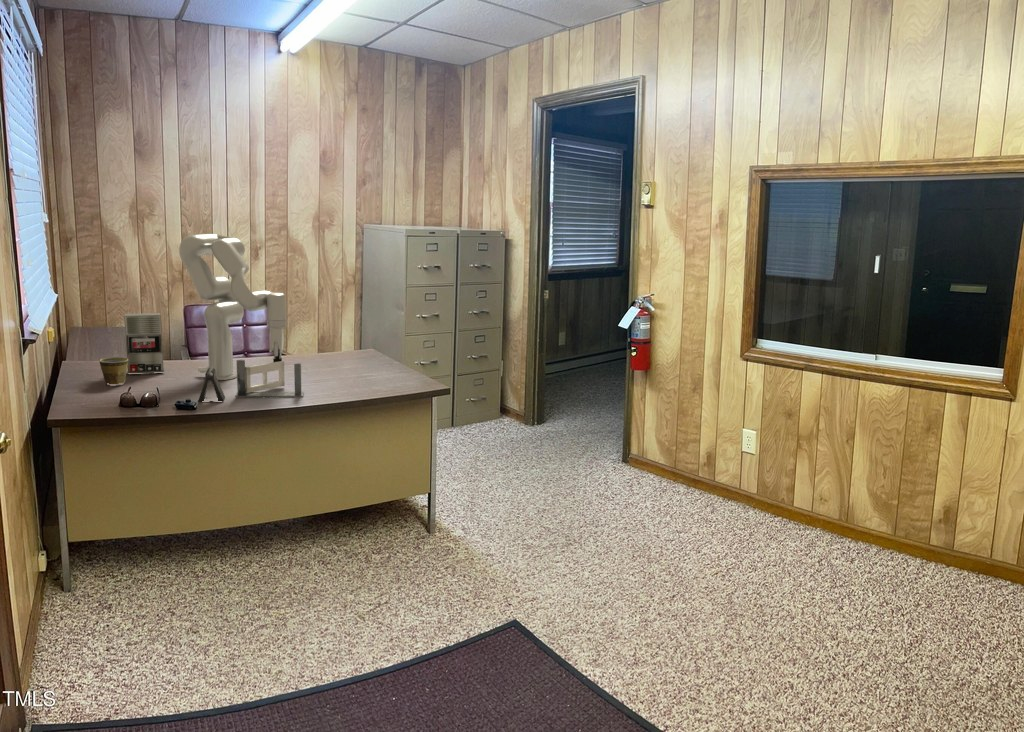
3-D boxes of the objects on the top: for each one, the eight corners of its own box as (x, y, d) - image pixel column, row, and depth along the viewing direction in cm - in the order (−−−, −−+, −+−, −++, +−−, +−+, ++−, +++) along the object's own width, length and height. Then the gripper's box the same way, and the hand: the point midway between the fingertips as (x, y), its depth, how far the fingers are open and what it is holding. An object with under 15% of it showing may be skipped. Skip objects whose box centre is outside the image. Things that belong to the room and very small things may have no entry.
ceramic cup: (135, 384, 305) (133, 359, 303) (111, 389, 297) (110, 363, 295) (114, 379, 311) (112, 355, 309) (90, 383, 303) (88, 359, 301)
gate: (247, 392, 297) (246, 367, 294) (245, 392, 298) (244, 367, 295) (284, 385, 310) (284, 361, 308) (282, 385, 311) (281, 361, 309)
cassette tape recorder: (127, 375, 317) (123, 316, 312) (128, 372, 323) (124, 313, 317) (164, 374, 323) (161, 315, 318) (164, 370, 328) (161, 313, 323)
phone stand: (225, 398, 292) (224, 367, 289) (223, 402, 286) (222, 371, 284) (199, 398, 290) (198, 367, 287) (197, 402, 284) (196, 371, 281)
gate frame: (235, 398, 292) (234, 362, 289) (237, 394, 298) (236, 358, 295) (303, 397, 298) (302, 362, 295) (303, 393, 303) (303, 359, 300)
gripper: (268, 320, 315) (269, 364, 319) (265, 326, 301) (266, 372, 305) (287, 320, 317) (288, 363, 321) (285, 326, 303) (286, 372, 307)
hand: (277, 367), depth 313 cm, fingers closed
